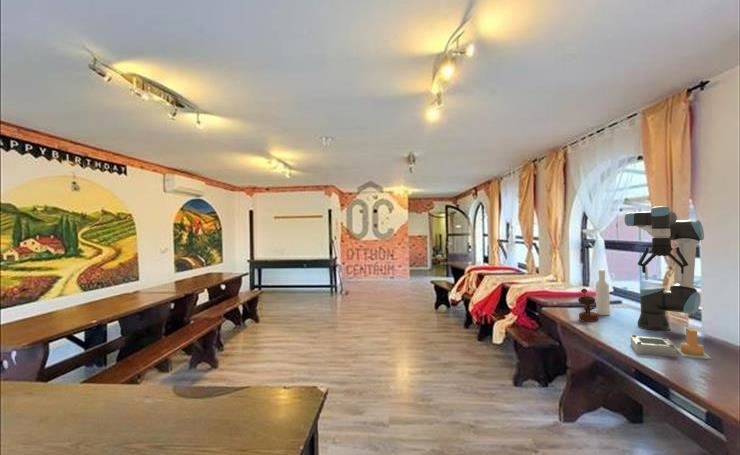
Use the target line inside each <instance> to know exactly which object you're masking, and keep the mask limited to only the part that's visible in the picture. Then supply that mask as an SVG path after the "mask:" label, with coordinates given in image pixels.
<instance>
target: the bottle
mask: <svg viewBox="0 0 740 455" xmlns="http://www.w3.org/2000/svg"><path fill="white" fill-rule="evenodd" d="M595 303H596V308H595V311H596V312H595V313H597V314H599V315H598V316H603V315H608V316H610V315H611V310H610V309H611V307H610V306H611V303H610V284H609V282H608V281H607V280H606V269H600V268H599V269H598V280H597V281H596V283H595Z"/></svg>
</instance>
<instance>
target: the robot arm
mask: <svg viewBox="0 0 740 455" xmlns="http://www.w3.org/2000/svg"><path fill="white" fill-rule="evenodd" d="M650 210H651V211H635V212H634V211H631V212H627V213H625V215H624V224H625V225H626V227H637V228H640V229H641V230H643V231H646V232H647V234H648V235H650V236H651V237H652V239H651V242H652V246H651V247H648V246H645V247H644V252H643V253H642V255H641V257H640V258H639V260H638V262H637V265H638V266H641V271H642V273H643V274H644V280H646V281H647V280H649V278H648V276H649V274H648V273H649V272H648V271H649V270H648V266H647V265H649V263H650V262H652V260H653V259H654V258H655V257H656V256H657V257H669V258H671V260H672V261H673V262H674V263H675V264H674V265H675V267H674V275H673V276H674V277H673V284H672V285H670V287H669V290H668V289H666V288H665V287H664V286H649V287H642V288H641V289H640V290H639V291H640V292H639V293H640V294H639V299H640V300H639V301H640V314H639V317H638V320H637V327H638V328H640V329H646V330H648V331H649V330H650V331H670V329H671V325H670V322H669V321H668V317H667V312H674V313H680V314H681V313H682V314H696V313H697V312H698V311H699V308H700V306H701V305H700V304H701V293H699V292H698V291H697V288H695V287H694V284H695V281H694V280H695V268H696V254H697V252H696V250H697V246H699V245H700V243H701V241H703V240H705V233H704V228H703V224H702V222H701V221H700V220H699V219H679V220H678V216H677V213H676V212H674V211H672V210H671V209H670V206H668V205H667V206H653V207H651V209H650ZM672 241H673V243H674V244H675V245H676V246H675V247H672ZM650 251H652V254H650V256H649V257H648V258H646V257H647V255H648V253H650ZM672 251H673V252H675V256H674V255H673V254H672V253H671V252H672Z"/></svg>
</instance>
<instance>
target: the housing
mask: <svg viewBox="0 0 740 455" xmlns="http://www.w3.org/2000/svg"><path fill="white" fill-rule="evenodd" d="M629 336H630V337H629V338H630V346H631V347H632V349H633V351H635V353H636V355H648V356H658V357H669V358H677V357H678V356H677V353H678V352H677V351H676V348H677V346H676V345H674V343H673V342H672V341H671V340H670V339H669V338H667V337H665V336H662V337H656V336H655V337H654V336H653V337H652V336H638V335H636V334H632V335H629Z"/></svg>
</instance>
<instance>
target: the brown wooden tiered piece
mask: <svg viewBox="0 0 740 455" xmlns="http://www.w3.org/2000/svg"><path fill="white" fill-rule="evenodd" d="M580 292H581V293H582V294H583V296H579V297H578V303H579V304H581V305H584V307H583V310H584V311H581V312H580V313H578V317H579V318H578V319H579V320H580V319H581V320H580V321H582V320H584V321H583V322H596V321H599V315H598V314H597V312H593V311H592V310H596V308H595V307H594V306H593V307H590V305H593V304H595V303H596V297H594V296H590V295H586V293H588V289H586V287H585V288H582V289H581V290H580Z"/></svg>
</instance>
